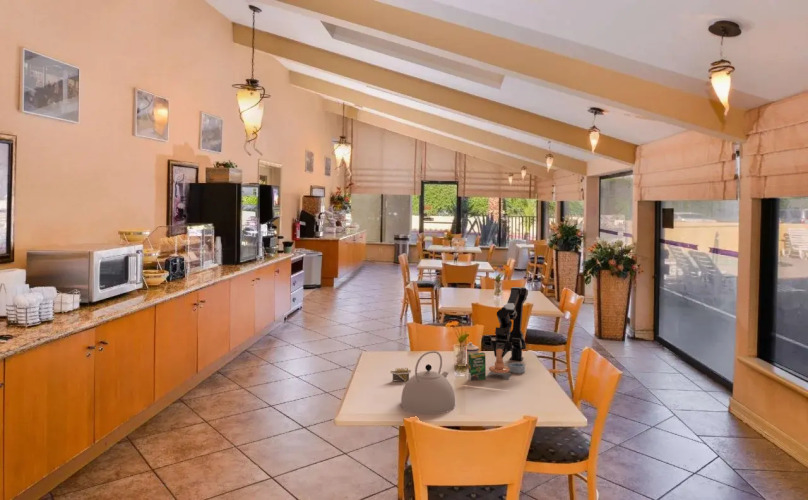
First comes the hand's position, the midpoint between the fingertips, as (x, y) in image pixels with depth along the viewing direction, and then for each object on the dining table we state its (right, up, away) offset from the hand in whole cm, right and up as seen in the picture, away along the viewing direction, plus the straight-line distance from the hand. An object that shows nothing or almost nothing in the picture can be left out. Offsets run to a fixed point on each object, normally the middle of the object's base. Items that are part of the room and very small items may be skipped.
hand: (498, 356), depth 279 cm
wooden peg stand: (+1, -7, +2) cm, 7 cm away
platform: (-47, -11, -6) cm, 49 cm away
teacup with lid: (-13, -9, +25) cm, 29 cm away
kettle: (-35, -13, -37) cm, 53 cm away
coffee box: (-11, -11, -4) cm, 16 cm away
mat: (0, -10, +2) cm, 10 cm away
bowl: (+11, -10, +10) cm, 17 cm away
